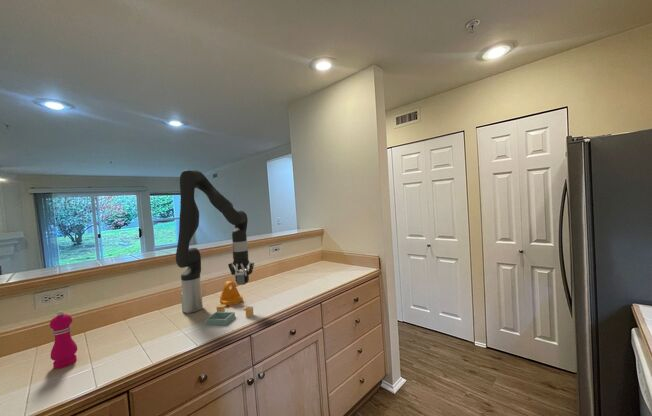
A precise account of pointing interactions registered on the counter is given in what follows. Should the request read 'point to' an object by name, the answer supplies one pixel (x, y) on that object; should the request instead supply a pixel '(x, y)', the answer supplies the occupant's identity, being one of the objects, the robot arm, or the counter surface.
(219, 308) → the clip left
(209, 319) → the tray
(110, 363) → the counter surface
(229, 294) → the bracket
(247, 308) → the clip right
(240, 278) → the block
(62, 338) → the pepper mill
